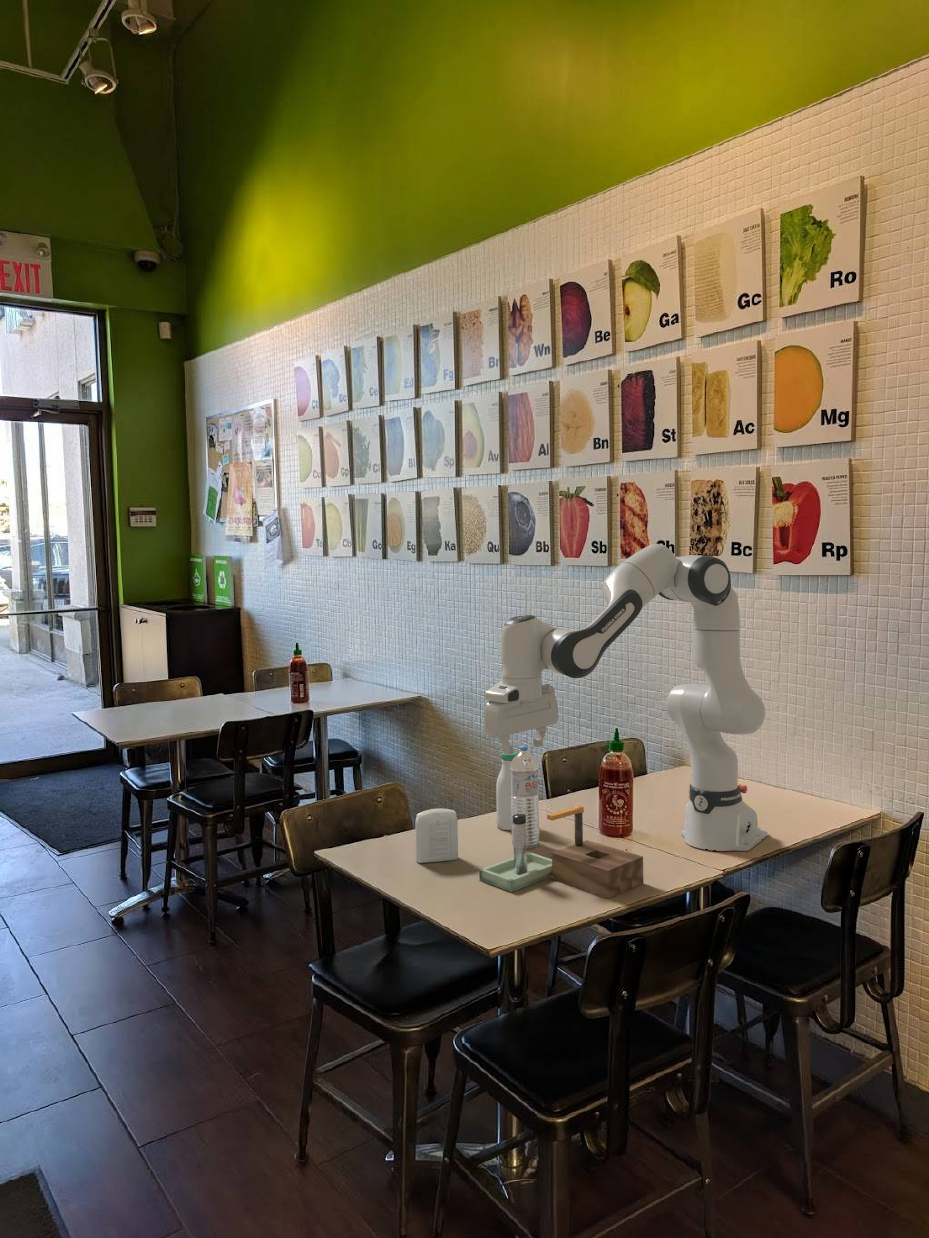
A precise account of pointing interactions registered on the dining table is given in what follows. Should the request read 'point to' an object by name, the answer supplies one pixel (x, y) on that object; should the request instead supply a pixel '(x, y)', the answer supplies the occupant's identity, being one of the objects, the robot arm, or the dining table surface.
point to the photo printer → (436, 835)
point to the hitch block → (596, 866)
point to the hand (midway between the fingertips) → (523, 750)
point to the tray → (510, 881)
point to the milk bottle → (504, 793)
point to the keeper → (565, 813)
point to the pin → (520, 844)
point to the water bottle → (525, 794)
